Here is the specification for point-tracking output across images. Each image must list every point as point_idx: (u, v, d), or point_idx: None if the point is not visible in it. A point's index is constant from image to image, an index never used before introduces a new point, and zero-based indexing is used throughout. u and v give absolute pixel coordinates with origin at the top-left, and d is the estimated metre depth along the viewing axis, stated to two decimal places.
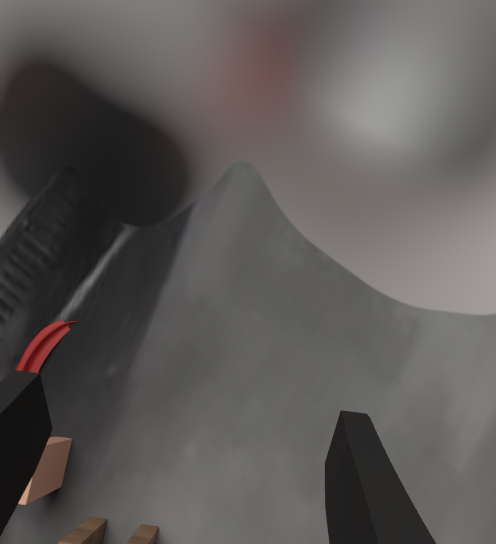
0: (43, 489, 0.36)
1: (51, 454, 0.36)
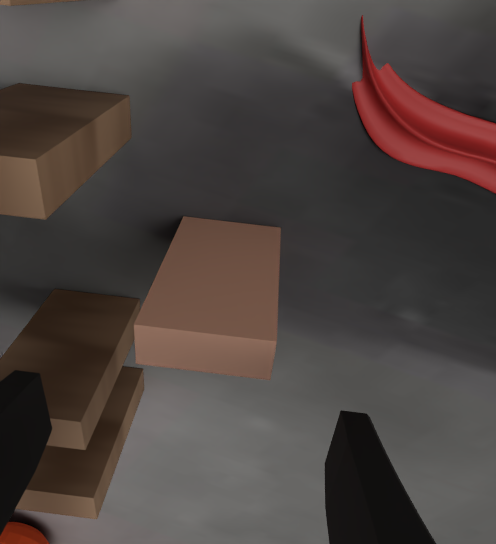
0: None
1: None
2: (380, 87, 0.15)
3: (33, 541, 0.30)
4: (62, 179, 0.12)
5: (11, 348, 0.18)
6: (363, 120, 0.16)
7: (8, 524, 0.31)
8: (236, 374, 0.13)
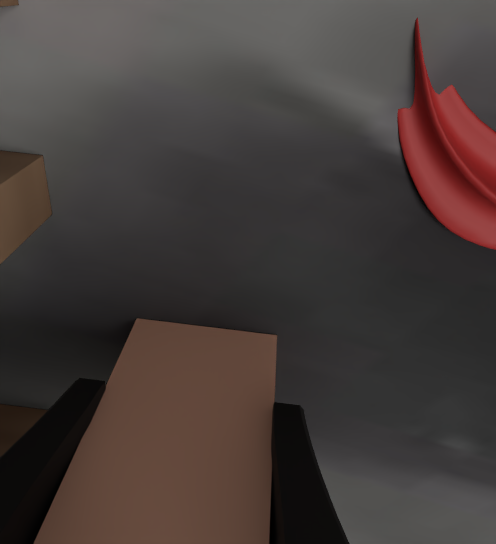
0: None
1: None
2: (448, 137, 0.09)
3: None
4: None
5: None
6: (418, 186, 0.10)
7: None
8: None
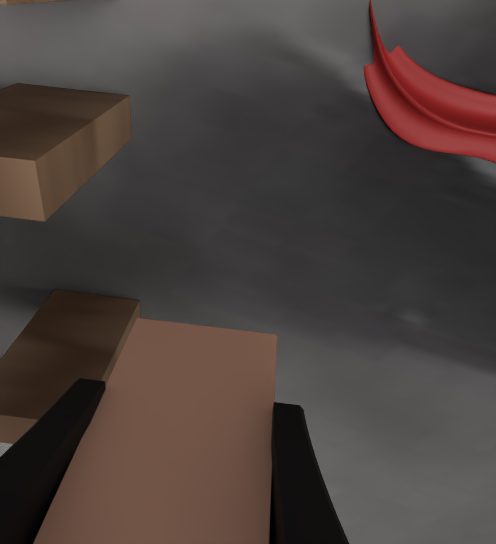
0: None
1: None
2: (394, 73, 0.15)
3: None
4: (62, 180, 0.11)
5: (11, 350, 0.17)
6: (378, 108, 0.15)
7: None
8: None
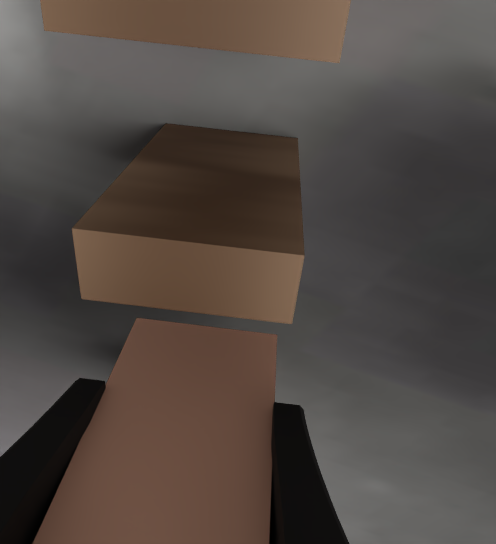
0: None
1: None
2: None
3: None
4: None
5: None
6: None
7: None
8: None
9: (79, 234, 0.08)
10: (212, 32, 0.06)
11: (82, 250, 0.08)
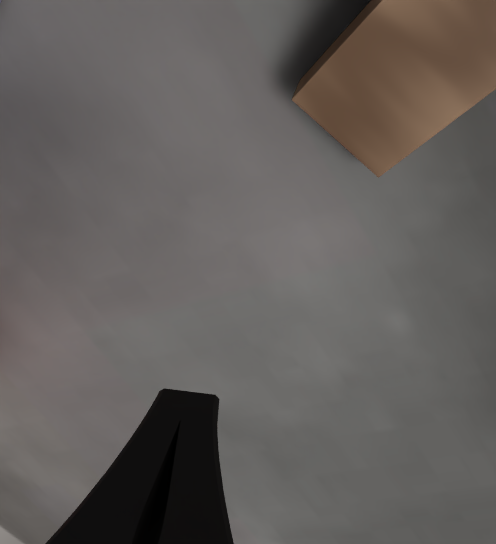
0: None
1: None
2: None
3: None
4: None
5: None
6: None
7: None
8: None
9: None
10: None
11: None
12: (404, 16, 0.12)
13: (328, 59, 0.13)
